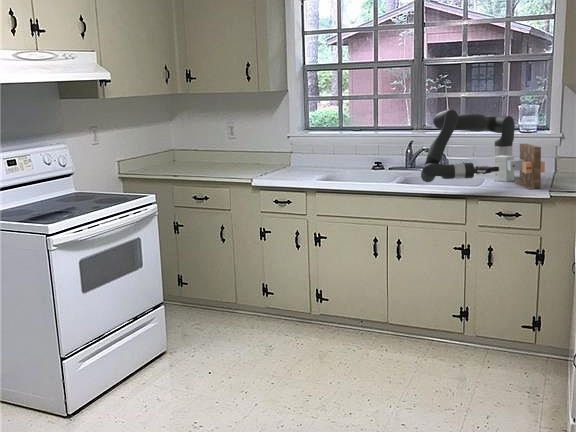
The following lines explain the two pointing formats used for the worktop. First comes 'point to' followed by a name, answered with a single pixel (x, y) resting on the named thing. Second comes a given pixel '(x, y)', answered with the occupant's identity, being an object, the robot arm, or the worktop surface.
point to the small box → (503, 169)
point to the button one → (515, 165)
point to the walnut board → (534, 156)
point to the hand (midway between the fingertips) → (498, 168)
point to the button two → (531, 167)
